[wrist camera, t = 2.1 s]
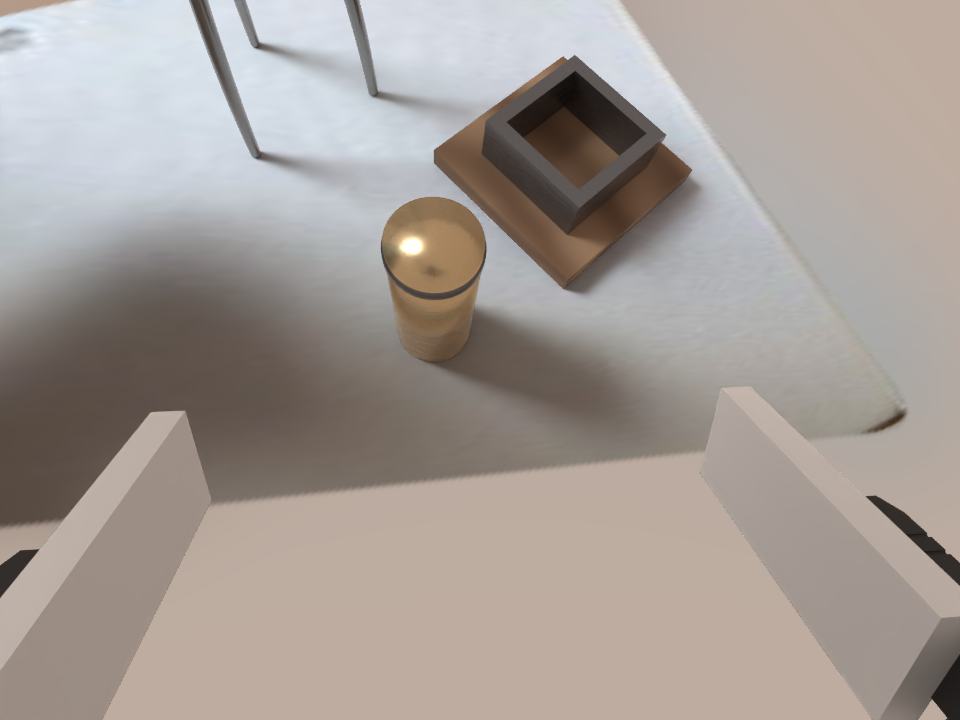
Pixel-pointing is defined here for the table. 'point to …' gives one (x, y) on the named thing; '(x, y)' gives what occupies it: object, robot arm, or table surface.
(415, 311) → the gold canister
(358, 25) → the juicer
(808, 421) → the table surface
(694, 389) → the table surface
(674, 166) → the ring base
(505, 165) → the grey square frame
